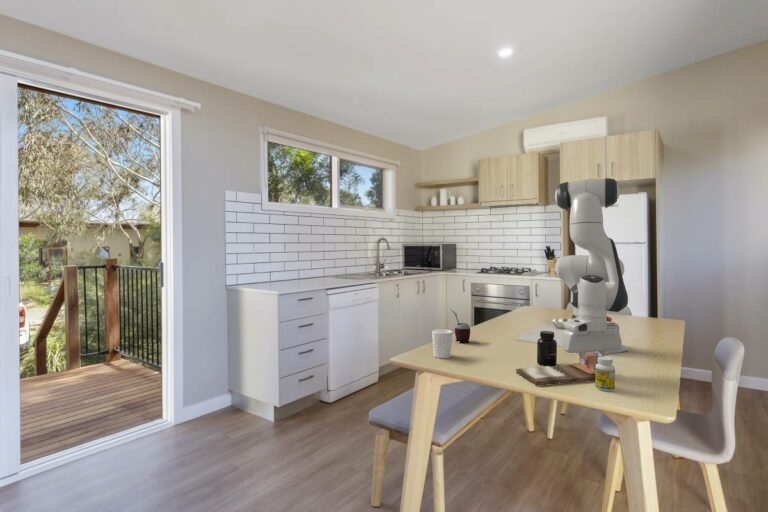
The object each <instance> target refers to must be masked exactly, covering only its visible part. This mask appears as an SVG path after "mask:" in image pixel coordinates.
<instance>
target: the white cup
mask: <svg viewBox="0 0 768 512" xmlns="http://www.w3.org/2000/svg"><path fill="white" fill-rule="evenodd" d="M431 335H432V336H431V337H432V349H433V351H432V352H433V357H435V358H436V359H437V358H438V359H449V358H451V355H452V353H451V352H452V341H453V331H452V330H450V329H443V328H440V329H439V328H438V329H433V330H432V331H431Z"/></svg>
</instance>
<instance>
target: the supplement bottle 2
mask: <svg viewBox="0 0 768 512" xmlns="http://www.w3.org/2000/svg"><path fill="white" fill-rule="evenodd" d="M598 362H599V363H598V364H596V366H595V381H594V383H595V386H594V387H595V388H596V390H598V391H600V392H607V393H608V392H610V393H612V392H614V391H615V390H616V367H615V366H614V365H613V364H614V362H613V358H611V357H609V356H604V357H598Z"/></svg>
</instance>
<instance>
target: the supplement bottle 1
mask: <svg viewBox="0 0 768 512" xmlns="http://www.w3.org/2000/svg"><path fill="white" fill-rule="evenodd" d="M539 333H540V334H539V337H540V338H538V339H537V342H536V343H537V344H536V362H537V363H536V364H537V365H539V364H540V366H542V365H543V366H542V367H545V366H557V364H558V362H557V361H558V360H557V358H558V342H557V340H556V339H554V338H555V332H554V331H552V330H551V331H550V330H541V331H540V332H539Z"/></svg>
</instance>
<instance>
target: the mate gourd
mask: <svg viewBox="0 0 768 512" xmlns="http://www.w3.org/2000/svg"><path fill="white" fill-rule="evenodd" d="M450 311H451V312H452V313H453V314H454V316H455V319H456V321H457V323H456V324H455V326H454V334H455V339H456V340H455V342H458V341H460V342H459V343H458V344H463V343H466V342H467V343H468V344H469V343H470V341H469V340H470V337H471V327H470V325H469V324H468V323H464V322H459V318H458V315H457V313H456V312H455V311H454V310H453V309H450ZM467 343H466V344H467Z"/></svg>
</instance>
